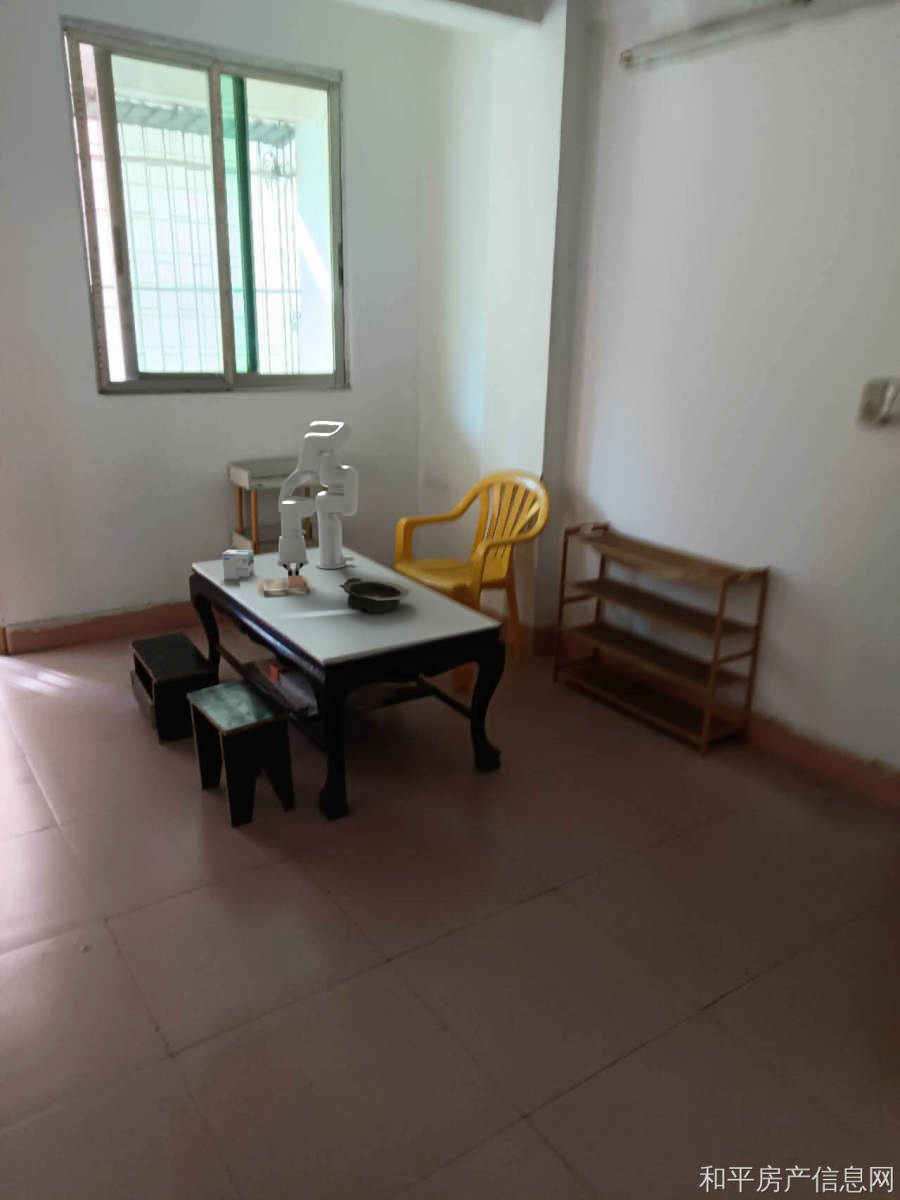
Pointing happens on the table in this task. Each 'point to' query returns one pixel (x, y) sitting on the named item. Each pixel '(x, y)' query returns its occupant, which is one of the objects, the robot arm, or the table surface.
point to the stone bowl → (373, 595)
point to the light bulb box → (238, 563)
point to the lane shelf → (282, 587)
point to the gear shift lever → (295, 580)
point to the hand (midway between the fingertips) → (293, 579)
